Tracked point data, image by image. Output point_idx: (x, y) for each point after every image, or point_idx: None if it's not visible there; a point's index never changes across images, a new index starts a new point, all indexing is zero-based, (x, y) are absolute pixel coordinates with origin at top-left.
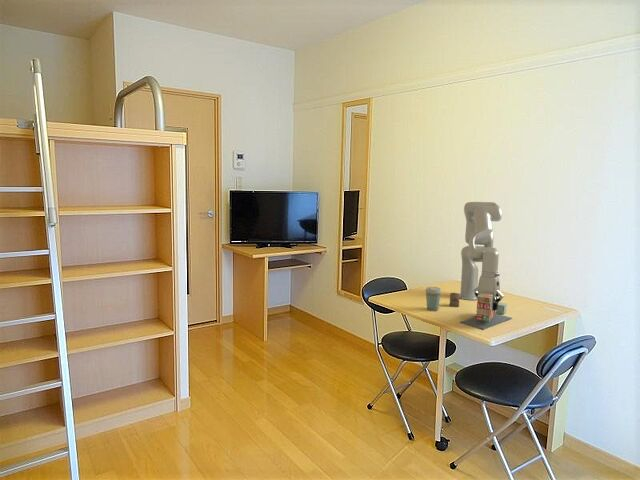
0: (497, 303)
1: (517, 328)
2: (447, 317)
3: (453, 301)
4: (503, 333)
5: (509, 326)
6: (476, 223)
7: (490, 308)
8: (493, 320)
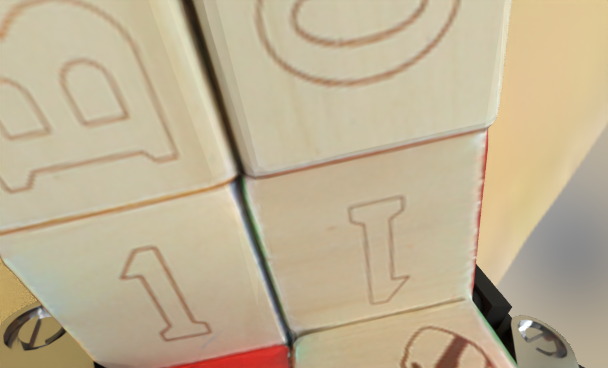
0: (502, 328)
1: (554, 166)
2: (12, 300)
3: None
4: None
5: (493, 163)
6: None
7: None
8: None
